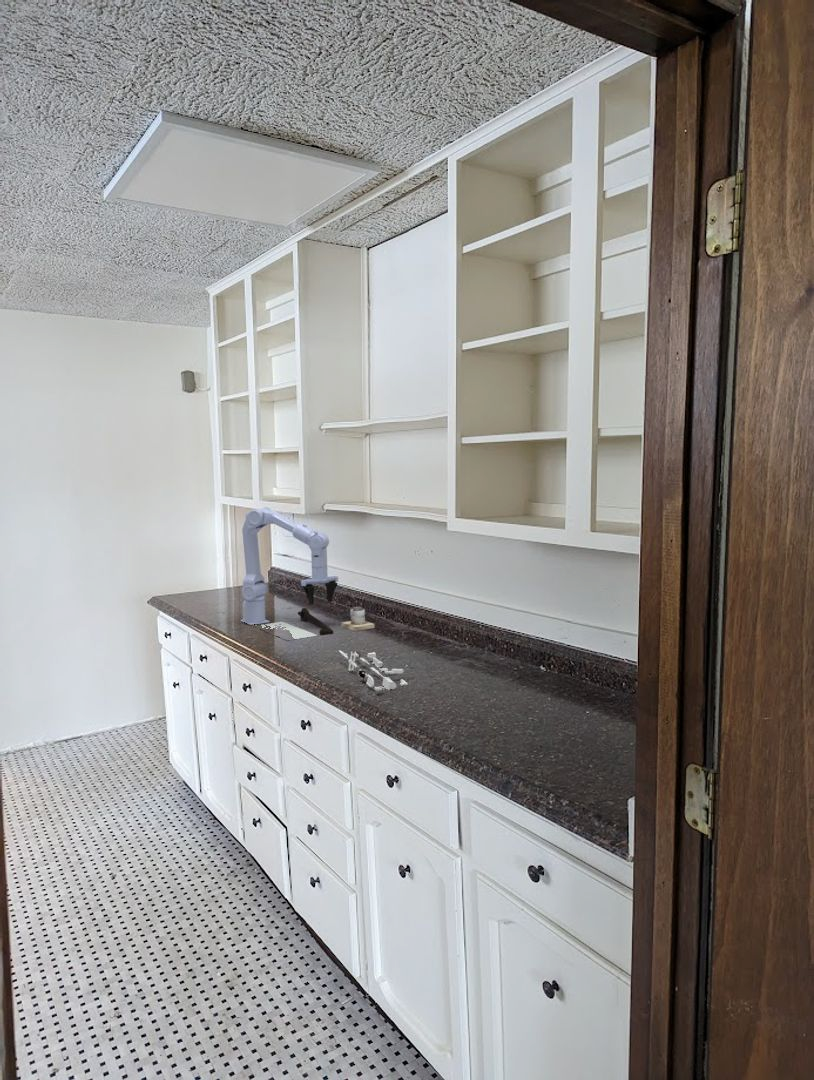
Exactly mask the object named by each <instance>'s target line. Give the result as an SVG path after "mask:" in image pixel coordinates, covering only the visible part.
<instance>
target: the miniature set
mask: <svg viewBox="0 0 814 1080" xmlns="http://www.w3.org/2000/svg"><path fill="white" fill-rule="evenodd" d="M338 651H339V653H341V656H344V658H345V659H346V660H348V664H349V665H348V670H349V671H350V672H351V671H352V670H353V671H354V669H356V668H357V667H358V668H359V666H358V665H357V663H356V662H355V661H356V657H357V658H359V660H361V661H362V662H364V663H366V664H367V665H369V666H371V665H370V662H368V660H366V659H365V657H361V654H360V653H359V652H358V651H356V650H354V651H350V657H349V656H348V655H349V654H348V653H346V652H344V651H342V650H340V649H339V650H338ZM353 652H354V653H353ZM366 657H367V658H369V659H372V663H371V664H372V665H374V666H376V668H378V669H376V668H375V667H370V670H372V672H374V673H376V674H377V675H379V676H380V677H382V678H383V679H382V684H381V685H383V686H384V687H383V686H380V685H379V686H375V680H374V678H373V677H372V676H371V675H370V674H367V673H366V671H365V670H363V669H359V670H358V675H357V676H359V677H360V678H361V680H364V679H365V678H366V677H367V680H366V685H367V686H368V687H369V688H373V687H374V688H373V689H374V691H376V692H380V691H384V690H385V689H386V690H387V689H388V690H387V691H391V690H390V689H392V690H395V689H397V683H395V682H394V681H393V680H392V679H391V678H390V677H388V676H387V677H386V676H383V675H382V674H381V673H383V672H382V671H384V674H390V675H391V674H394V675H395V674H403V673H404V672H405V671H404V669H403V668H392V669H391V670H389V669H388V668H386V667H383V665H384V663H383V661H382V660H379V659H378V658H377V654H376V652H375V651H373V652H368V653H367V655H366ZM351 666H352V667H351ZM348 670H347V671H348ZM408 685H409V683H408V682H406V681H405V680H404V679H403V678H402V679H400V682H399V686H408Z"/></svg>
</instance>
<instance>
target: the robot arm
mask: <svg viewBox="0 0 814 1080" xmlns="http://www.w3.org/2000/svg"><path fill="white" fill-rule="evenodd" d="M273 524H274V525H276V526H278V527H280V528H282V529H284V530H286V531H288V532H290V533H291V534H292V536H293V538H294V539H296V540H298V541H300V542H301V543H303V544H305V545H307V546H308V548H309V549H310V553H311V557H310V558H311V578H307V579H301V581H300V585H301V586H302V588H303V590H304V592H305V594H306V597H307V599H308V604H309V605H311V606H312V605H314V604H315V603H314V598H315V597H314V596H315V595H314V594H315V586H313V585H320V584H325V588H326V600H327V602H328V603H332V602H333V596H334V593H335V591H336V589H337V587H338V582H339V576H336V575H334V576H328V549H327V548H328V546H329V543H330V541H329V537H328V536H327V535H326V534H325V533H322V532H321V533H318V531H317V530H313V529H311V528H310V527H308V525H307V524H306V523H304V524H302V523H299V524H297V523H294V522H293V521H291V520H289V519H288V518H286V517H285V516H283V515H282V514H280V513H278V512H277V511H276V510H272V509H270V508H269V507H262V508H252V509H251V510H249V511H248V512H247V513H246V514H245V521H244V524H243V526H242V540H243V542H242V543H243V553H244V564H245V565H244V566H245V574H246V575H245V577H244V579H243V581H242V588H241V595H242V597H243V598H244V600H243V602H242V606H241V607H242V608H241V609H242V619H240V622H242V623H244V622H245V623H244V624H246V623H247V625H250V626H255V625H263V624H269V623H270V622H271V621H270V620H268V619H266V603H265V602H266V601H265V599H266V598H265V595H266V594H267V592H268V585H267V583H266V581H265V577H264V576H263V575H262V573H261V563H260V550H259V536H258V533H259V532H260V531H261V530H262V529H263V528H264V527H266V526H268V525H273ZM254 624H255V625H254Z"/></svg>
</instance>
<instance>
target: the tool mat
mask: <svg viewBox="0 0 814 1080" xmlns="http://www.w3.org/2000/svg"><path fill="white" fill-rule="evenodd" d="M264 624H265V625H267V626H270V627H271V628H270V629H273V628H275V627H277V626H281V627H280V628H282V627H286V628H284V629H283V630H285V629H286V630H289V631H290V633H291V634H292V637H293V638H294V639H297V640H300V638H302V639H306V638H307V637H308V638H313V637H317V636H319V635H318V634H316V633H314V632H310V631H308V630H305V629H302V628H300V627H297V626H295V625H291V624H290V623H286V622H284V621H278V622H272V623H270V622H269V623H264ZM264 624H260V625H261V626H262V628H264V627H266V626H265V625H264ZM279 624H281V625H279ZM275 625H277V626H275ZM268 628H269V627H268ZM268 628H266V629H268ZM277 628H278V627H277ZM277 628H276V629H277Z"/></svg>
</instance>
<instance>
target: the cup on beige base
mask: <svg viewBox="0 0 814 1080" xmlns="http://www.w3.org/2000/svg"><path fill="white" fill-rule="evenodd" d="M365 611H366V610H365V608H363V607H362V606H353V607H352V608H351V609H350V620H349V621H348V620H347V621H342V622H341V627H343V628H345V629H349V630H350V631H354V632H359V631H365V630H370V629H375V623H373V622H370V621H366V616H365V615H366V614H365Z"/></svg>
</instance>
